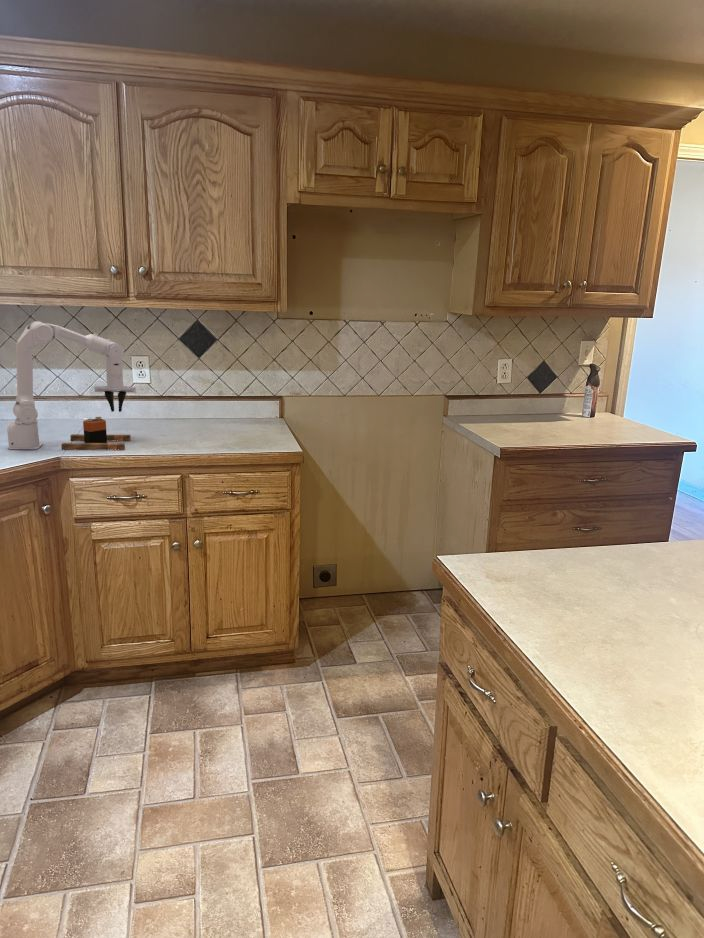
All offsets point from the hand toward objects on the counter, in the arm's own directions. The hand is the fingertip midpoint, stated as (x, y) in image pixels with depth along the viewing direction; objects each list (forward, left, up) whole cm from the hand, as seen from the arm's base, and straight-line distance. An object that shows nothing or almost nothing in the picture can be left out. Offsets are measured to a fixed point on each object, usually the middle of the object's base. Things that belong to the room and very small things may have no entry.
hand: (116, 411), depth 254 cm
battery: (-6, -10, -11) cm, 16 cm away
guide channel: (-5, -10, -10) cm, 15 cm away
